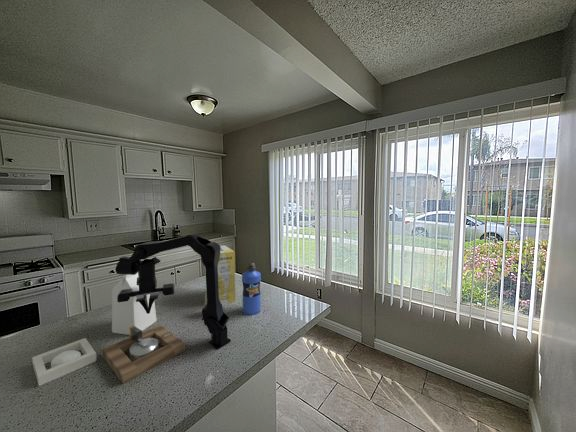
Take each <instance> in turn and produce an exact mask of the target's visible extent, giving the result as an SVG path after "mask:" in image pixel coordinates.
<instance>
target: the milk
mask: <svg viewBox="0 0 576 432" xmlns="http://www.w3.org/2000/svg"><path fill="white" fill-rule="evenodd" d="M137 277H138V272H137V273H136V274H135V275H122V278H121V280H120V281H119V282H118V283H117V284H116V285H115V286H113V287H112V290H111V333H113V334H122V335H126V336H130V329H129V327H131V326H135V327H137V328H138V329H140V330H142V332H144V330H146V329H147V328H148V327H150V326H151V325H152V324H155V323H156V322H157V321H158V320H157V312H156V303H155V302H156V301H154V302H153V304H152V307H151V310H150V313H149V314H147V313H146V311H145V309H144V307H143V306H142V305H141V304H140V302H136V299H137V298H136V296H134V297H130V299H129V300H128V301H125V302H117V296H118V294H119V293H120V291H121V290H125V289H133V291H139V285H137ZM149 298H150V294H148V295H147V302H148V306H149Z"/></svg>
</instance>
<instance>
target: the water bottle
mask: <svg viewBox="0 0 576 432" xmlns="http://www.w3.org/2000/svg"><path fill="white" fill-rule="evenodd" d="M256 269H257V267H256V264H255V262H254V261H249V262H248V263H247V266H246V271H245V272H243V273H242V274H241V282H242V289H243V290H242V314H243V315H247V316H254V315H258V314H259V313H261V310H262V308H261V307H262V305H261V299H262V298H261V297H262V296H261V294H262V293H261V280H262V278H261V275H262V274H261V272H260V271H257V270H256Z"/></svg>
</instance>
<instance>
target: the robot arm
mask: <svg viewBox="0 0 576 432" xmlns="http://www.w3.org/2000/svg"><path fill="white" fill-rule="evenodd" d="M187 246H188V247H190V248H191V249H192V250H193V251H194V252H195V253H197V254H198V255H199V256H200V259H201V262H202V264H203V266H204V268H205V284H206V286H205V288H206V289H205V290H206V291H207V304H206V305H205V304H204V306H203V308H202V309H201V314H202V318H201V321H203V324H204V326H205V327H206V328H207V331H208V332H209V334H210V339H209V341H207V343H208V344H209V345H211V346H212V347H213V348H215V349H216V350H218V349H221V348H222V347H224V346H226V345H227V344H229V343H231V339H230V338H228V337H229V336H228V335H229V334H228V327H227V324H228V322H229V320H230V317H229V315H228V314H226V313H225V312H224V308H223V304H221V302H220V301H219V288H218V267H217V266H218V261H219V258H220V251H221V248H220V246H221V245H220V244H219V243H218V242H216V241H211V240H209V239H207V238H205V237H202V236H200V235H198V234H196V233H190V234H187V235H183V236H179V237H175V238H171V239H168V240H167V239H166V240H162V241H159V240H155V241H154V240H153V241H147V242H143V243H140V244H138V245H135V248H134V251H133V253H132V254H131V256H130V257H129V256H121V257H119V261H118V262H117V263H116V266H115V273H116V274H117V275H122V276H124V275H135V274H136V273H137V272H138V277H137V285H139V291H133V289H125V290H121V291H120V293H119V294H118V296H117V302H125V301H128V300H129V299H130V297H134V296H136V298H137V299H136V302H140V304H141V305H142V306H143V307H144V309H145V311H146V313H147V314H149V313H150V310H151V307H152V304H153V302H155V300H157V299H159V294H161V293H162V295H164V296H165V297H166V296H171V295H175V284H174V282H173V283H166V284H163V286H162V287H157V283H158V281H157V277H156V265H157V264H160V263H161V259H158V258H157V257H156V256H154V255H157V254H160V253H162V252H166V251H170V250H174V249H179V248H183V247H187ZM152 256H154V257H152ZM150 257H152V258H150ZM148 294H150V298H149V306H148V302H147V295H148Z"/></svg>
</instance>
